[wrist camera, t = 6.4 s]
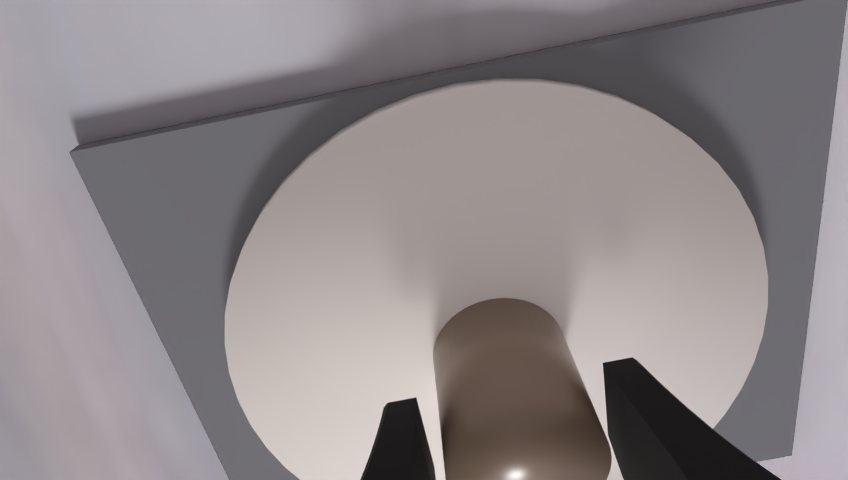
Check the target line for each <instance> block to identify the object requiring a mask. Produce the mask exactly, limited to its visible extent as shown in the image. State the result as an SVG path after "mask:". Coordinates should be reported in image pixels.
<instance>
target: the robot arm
mask: <svg viewBox="0 0 848 480" xmlns="http://www.w3.org/2000/svg"><path fill="white" fill-rule="evenodd" d="M603 373H604V387H605V401H606V415H607V429H608V436H609V439H610V442H611V445H612V448H613V451H614V454H615V457H616V460H617V463H618V465H619V468H620V471H621V474H622V477H623V479H624V480H781V479H780V478H778V477H777V476H775V475H774V474H772V473H771V472H769V471H768V470H766V469H765V468H764V467H762V466H761V465H759V464H758V463H757V462H755V461H754V460H752V459H751V458H750V457H748V456H747V455H746V454H744V453H743V452H742V451H740V450H739V449H738V448H737V447H735V446H734V445H733V444H731V443H730V442H729V441H727V440H726V439H725V438H724V437H722V436H721V435H720V434H719V433H717V432H716V431H715V430H714V429H712V428H711V427H710V426H709V425H708V424H706V423H705V422H704V421H703V420H702V419H701V418H699V417H698V416H697V415H696V414H695V413H693V412H692V411H691V410H690V409H689V408H688V407H686V406H685V405H684V404H683V403H682V402H681V401H680V400H678V399H677V398H676V397H675V396H674V395H673V394H672V393H671V392H670V391H669V390H668V389H666V388H665V387H664V386H663V385H662V384H661V383H660V382H659V381H658V380H657V379H656V378H655V377H654V376H653V375H652V374H651V373H650V372H649V371H648V370H647V369H646V368H645V367H644V366H642V365H641V364H640V363H639V362H638V361H637V360H636V359H634V358H633V357H631V358H626V359H621V360H615V361H610V362H604V363H603ZM360 480H436V476H435V468H434V463H433V460H432V456H431V452H430V448H429V444H428V440H427V437H426V433H425V429H424V425H423V421H422V417H421V414H420V410H419V406H418V402H417V398H410V399H405V400H399V401H394V402H389V403H387V404H386V405H385V407H384V408H383V412H382V417H381V421H380V424H379V428H378V431H377V435H376V438H375V441H374V444H373V447H372V450H371V453H370V456H369V459H368V461H367V464H366V466H365V469H364V472H363V474H362V477H361V479H360Z"/></svg>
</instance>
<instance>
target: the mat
mask: <svg viewBox="0 0 848 480" xmlns="http://www.w3.org/2000/svg"><path fill="white" fill-rule="evenodd" d="M847 1H848V0H780V1H775V2H770V3H766V4H761V5H756V6H751V7H746V8H741V9H737V10H732V11H727V12H722V13H717V14H712V15H708V16H703V17H698V18H693V19H688V20H683V21H679V22H674V23H669V24H664V25H659V26H654V27H650V28H645V29H640V30H635V31H630V32H625V33H621V34H616V35H611V36H606V37H601V38H596V39H592V40H587V41H582V42H577V43H572V44H567V45H563V46H558V47H553V48H548V49H543V50H538V51H534V52H529V53H524V54H519V55H514V56H509V57H505V58H500V59H495V60H490V61H485V62H480V63H476V64H471V65H466V66H461V67H456V68H451V69H447V70H442V71H437V72H432V73H427V74H422V75H418V76H413V77H408V78H403V79H398V80H393V81H389V82H384V83H379V84H374V85H369V86H364V87H360V88H355V89H350V90H345V91H340V92H335V93H331V94H326V95H321V96H316V97H311V98H306V99H302V100H297V101H292V102H287V103H282V104H277V105H273V106H268V107H263V108H258V109H253V110H248V111H244V112H239V113H234V114H229V115H224V116H219V117H215V118H210V119H205V120H200V121H195V122H190V123H186V124H181V125H176V126H171V127H166V128H161V129H157V130H152V131H147V132H142V133H137V134H132V135H128V136H123V137H118V138H113V139H108V140H103V141H99V142H94V143H89V144H84V145H79V146H77V147H75V148H74V149H73V150H72V151H70V152H69V153H70V155H71V157H72V159H73V161H74V163H75V165H76V167H77V169H78V171H79V173H80V175H81V177H82V179H83V181H84V183H85V186H86V188H87V190H88V192H89V194H90V196H91V198H92V200H93V202H94V204H95V206H96V208H97V210H98V212H99V214H100V216H101V218H102V220H103V222H104V224H105V226H106V228H107V231H108V233H109V235H110V237H111V239H112V241H113V243H114V245H115V247H116V249H117V251H118V253H119V255H120V257H121V259H122V261H123V263H124V265H125V267H126V269H127V271H128V273H129V276H130V278H131V280H132V282H133V284H134V286H135V288H136V290H137V292H138V294H139V296H140V298H141V300H142V302H143V304H144V306H145V308H146V310H147V312H148V314H149V316H150V318H151V321H152V323H153V325H154V327H155V329H156V331H157V333H158V335H159V337H160V339H161V341H162V343H163V345H164V347H165V349H166V351H167V353H168V355H169V357H170V359H171V361H172V363H173V366H174V368H175V370H176V372H177V374H178V376H179V378H180V380H181V382H182V384H183V386H184V388H185V390H186V392H187V394H188V396H189V398H190V400H191V402H192V404H193V406H194V408H195V410H196V413H197V415H198V417H199V419H200V421H201V423H202V425H203V427H204V429H205V431H206V433H207V435H208V437H209V439H210V441H211V443H212V445H213V447H214V449H215V451H216V453H217V455H218V458H219V460H220V462H221V464H222V466H223V468H224V470H225V472H226V474H227V476H228V478H229V480H300V479H299V478H297V477H296V476H295V475H294V474H292V473H291V472H290V471H289V470H288V469H286V468H285V467H284V466H283V465H282V464H281V462H280V461H279V460H278V459H277V458H276V457H275V456H274V455H273V454H272V453H271V452H270V451H269V450H268V449H267V448H266V446H265V445H264V443H263V442H262V440H261V439H260V438H259V436H258V435H257V433H256V432H255V431H254V429H253V428H252V426H251V425H250V423H249V421H248V419H247V417H246V415H245V413H244V411H243V409H242V407H241V405H240V403H239V401H238V399H237V396H236V393H235V390H234V387H233V384H232V381H231V377H230V374H229V369H228V363H227V357H226V350H225V310H226V304H227V298H228V292H229V287H230V282H231V279H232V276H233V273H234V270H235V267H236V264H237V261H238V259H239V256H240V253H241V250H242V248H243V246H244V243H245V241H246V239H247V237H248V235H249V233H250V231H251V229H252V227H253V225H254V223H255V222H256V220H257V218H258V216H259V214H260V212H261V210H262V208H263V207H264V206H265V204H266V203H267V202H268V200H269V199H270V198H271V196H272V195H273V193H274V192H275V191H276V189H277V188H278V187H279V185H280V184H281V183H282V181H283V180H284V179H285V178H286V177H287V176H288V175H289V174H290V173H291V172H292V171H293V170H294V169H295V168H296V167H297V166H298V165H299V164H300V163H301V162H302V161H303V160H304V159H305V158H306V157H307V156H308V155H309V154H310V153H311V152H312V151H313V150H315V149H316V148H317V147H319V146H320V145H321V144H323V143H324V142H325V141H327V140H328V139H329V138H331V137H332V136H333V135H334V134H336V133H337V132H338V131H340V130H341V129H343V128H345V127H346V126H348V125H350V124H352V123H353V122H355V121H357V120H359V119H360V118H362V117H364V116H366V115H367V114H369V113H371V112H373V111H375V110H376V109H379V108H381V107H384V106H386V105H389V104H391V103H394V102H396V101H399V100H401V99H403V98H406V97H408V96H411V95H413V94H417V93H420V92H424V91H428V90H432V89H436V88H440V87H443V86H447V85H451V84H455V83H463V82H471V81H479V80H486V79H494V78H538V79H545V80H552V81H559V82H566V83H573V84H579V85H583V86H586V87H590V88H593V89H596V90H600V91H603V92H607V93H610V94H614V95H617V96H619V97H621V98H623V99H625V100H628V101H630V102H632V103H634V104H636V105H639V106H641V107H643V108H645V109H647V110H649V111H651V112H653V113H654V114H656V115H657V116H659V117H660V118H662V119H663V120H665V121H666V122H668V123H669V124H671V125H672V126H674V127H676V128H677V129H679V130H680V131H681V132H683V133H684V134H685V135H687V136H688V137H690V138H691V139H692V140H693V141H694V142H695V143H697V144H698V145H699V146H700V147H701V148H702V149H703V150H704V151H705V152H706V153H708V154H709V155H710V156H711V157H712V158H713V159H714V160H715V161H716V162H717V163H718V164H719V165H720V166H721V168H722V169H723V170H724V171H725V173H726V174H727V175H728V176H729V178H730V179H731V180H732V182H733V183H734V184H735V185H736V187H737V188H738V189H739V191H740V193H741V195H742V197H743V198H744V200H745V202H746V204H747V206H748V208H749V210H750V211H751V213H752V215H753V217H754V220H755V223H756V226H757V229H758V232H759V235H760V238H761V241H762V244H763V247H764V253H765V259H766V266H767V272H768V308H767V314H766V320H765V326H764V332H763V337H762V340H761V343H760V346H759V349H758V352H757V355H756V358H755V361H754V364H753V366H752V368H751V370H750V372H749V374H748V376H747V379H746V381H745V383H744V385H743V387H742V389H741V391H740V392H739V394H738V395H737V397H736V398H735V400H734V401H733V403H732V404H731V406H730V408H729V409H728V411H727V412H726V414H725V415H724V416H723V417H722V419H721V420H720V421H719V422H718V423H717V425H716V426H715V427H714V428H713V429H714V430H715V431H716V432H717V433H719V434H720V435H721V436H722V437H724V438H725V439H726V440H727V441H729V442H730V443H731V444H733V445H734V446H735V447H737V448H738V449H739V450H740V451H742V452H743V453H744V454H746V455H747V456H748V457H750V458H751V459H752V460H754V461H755V462H757V461H763V460H768V459H774V458H780V457H785V456H791V455H792V449H793V441H794V432H795V424H796V416H797V408H798V400H799V392H800V384H801V375H802V367H803V359H804V351H805V343H806V335H807V327H808V318H809V310H810V302H811V294H812V286H813V278H814V269H815V261H816V253H817V245H818V237H819V229H820V221H821V212H822V204H823V196H824V188H825V180H826V172H827V164H828V155H829V147H830V139H831V131H832V123H833V115H834V106H835V98H836V90H837V82H838V74H839V66H840V58H841V49H842V41H843V33H844V25H845V17H846V9H847Z"/></svg>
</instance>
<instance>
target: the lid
mask: <svg viewBox="0 0 848 480" xmlns="http://www.w3.org/2000/svg"><path fill="white" fill-rule="evenodd" d="M767 308H768V272H767V266H766V259H765V253H764V247H763V244H762V241H761V238H760V235H759V232H758V229H757V226H756V223H755V220H754V217H753V215H752V213H751V211H750V210H749V208H748V206H747V204H746V202H745V200H744V198H743V197H742V195H741V193H740V191H739V189H738V188H737V187H736V185H735V184H734V183H733V182H732V180H731V179H730V178H729V176H728V175H727V174H726V173H725V171H724V170H723V169H722V168H721V166H720V165H719V164H718V163H717V162H716V161H715V160H714V159H713V158H712V157H711V156H710V155H709V154H708V153H706V152H705V151H704V150H703V149H702V148H701V147H700V146H699V145H698V144H697V143H695V142H694V141H693V140H692V139H691V138H690V137H688V136H687V135H685V134H684V133H683V132H681V131H680V130H679V129H677V128H676V127H674V126H672V125H671V124H669V123H668V122H666V121H665V120H663V119H662V118H660V117H659V116H657V115H656V114H654V113H653V112H651V111H649V110H647V109H645V108H643V107H641V106H639V105H636V104H634V103H632V102H630V101H628V100H625V99H623V98H621V97H619V96H617V95H614V94H610V93H607V92H603V91H600V90H596V89H593V88H590V87H586V86H583V85H579V84H573V83H566V82H559V81H552V80H545V79H538V78H494V79H486V80H479V81H471V82H463V83H455V84H451V85H447V86H443V87H440V88H436V89H432V90H428V91H424V92H420V93H417V94H413V95H411V96H408V97H406V98H403V99H401V100H399V101H396V102H394V103H391V104H389V105H386V106H384V107H381V108H379V109H376V110H375V111H373V112H371V113H369V114H367V115H366V116H364V117H362V118H360V119H359V120H357V121H355V122H353V123H352V124H350V125H348V126H346V127H345V128H343V129H341V130H340V131H338V132H337V133H336V134H334V135H333V136H332V137H331V138H329V139H328V140H327V141H325V142H324V143H323V144H321V145H320V146H319V147H317V148H316V149H315V150H313V151H312V152H311V153H310V154H309V155H308V156H307V157H306V158H305V159H304V160H303V161H302V162H301V163H300V164H299V165H298V166H297V167H296V168H295V169H294V170H293V171H292V172H291V173H290V174H289V175H288V176H287V177H286V178H285V179H284V180H283V181H282V183H281V184H280V185H279V187H278V188H277V189H276V191H275V192H274V193H273V195H272V196H271V198H270V199H269V200H268V202H267V203H266V204H265V206H264V207H263V208H262V210H261V212H260V214H259V216H258V218H257V220H256V222H255V223H254V225H253V227H252V229H251V231H250V233H249V235H248V237H247V239H246V241H245V243H244V246H243V248H242V250H241V253H240V256H239V259H238V261H237V264H236V267H235V270H234V273H233V276H232V279H231V282H230V287H229V292H228V298H227V304H226V310H225V350H226V357H227V363H228V369H229V374H230V377H231V381H232V384H233V387H234V390H235V393H236V396H237V399H238V401H239V403H240V405H241V407H242V409H243V411H244V413H245V415H246V417H247V419H248V421H249V423H250V425H251V426H252V428H253V429H254V431H255V432H256V433H257V435H258V436H259V438H260V439H261V440H262V442H263V443H264V445H265V446H266V448H267V449H268V450H269V451H270V452H271V453H272V454H273V455H274V456H275V457H276V458H277V459H278V460H279V461H280V462H281V464H282V465H283V466H284V467H285V468H286V469H288V470H289V471H290V472H291V473H292V474H294V475H295V476H296V477H297V478H299V479H300V480H360V479H361V477H362V474H363V472H364V469H365V466H366V464H367V461H368V459H369V456H370V453H371V450H372V447H373V444H374V441H375V438H376V435H377V431H378V428H379V424H380V421H381V417H382V412H383V408H384V407H385V405H386V404H387V403H389V402H394V401H399V400H405V399H410V398H417V402H418V406H419V410H420V414H421V417H422V421H423V425H424V429H425V433H426V437H427V440H428V444H429V448H430V452H431V456H432V460H433V463H434V468H435V476H436V480H624V479H623V477H622V474H621V471H620V468H619V465H618V463H617V460H616V457H615V454H614V451H613V448H612V445H611V442H610V439H609V436H608V429H607V415H606V401H605V387H604V373H603V363H604V362H610V361H615V360H621V359H626V358H631V357H633V358H634V359H636V360H637V361H638V362H639V363H640V364H641V365H642V366H644V367H645V368H646V369H647V370H648V371H649V372H650V373H651V374H652V375H653V376H654V377H655V378H656V379H657V380H658V381H659V382H660V383H661V384H662V385H663V386H664V387H665V388H666V389H668V390H669V391H670V392H671V393H672V394H673V395H674V396H675V397H676V398H677V399H678V400H680V401H681V402H682V403H683V404H684V405H685V406H686V407H688V408H689V409H690V410H691V411H692V412H693V413H695V414H696V415H697V416H698V417H699V418H701V419H702V420H703V421H704V422H705V423H706V424H708V425H709V426H710V427H711V428H712V429H713V428H714V427H715V426H716V425H717V423H718V422H719V421H720V420H721V419H722V417H723V416H724V415H725V414H726V412H727V411H728V409H729V408H730V406H731V404H732V403H733V401H734V400H735V398H736V397H737V395H738V394H739V392H740V391H741V389H742V387H743V385H744V383H745V381H746V379H747V376H748V374H749V372H750V370H751V368H752V366H753V364H754V361H755V358H756V355H757V352H758V349H759V346H760V343H761V340H762V337H763V332H764V326H765V320H766V314H767Z"/></svg>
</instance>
